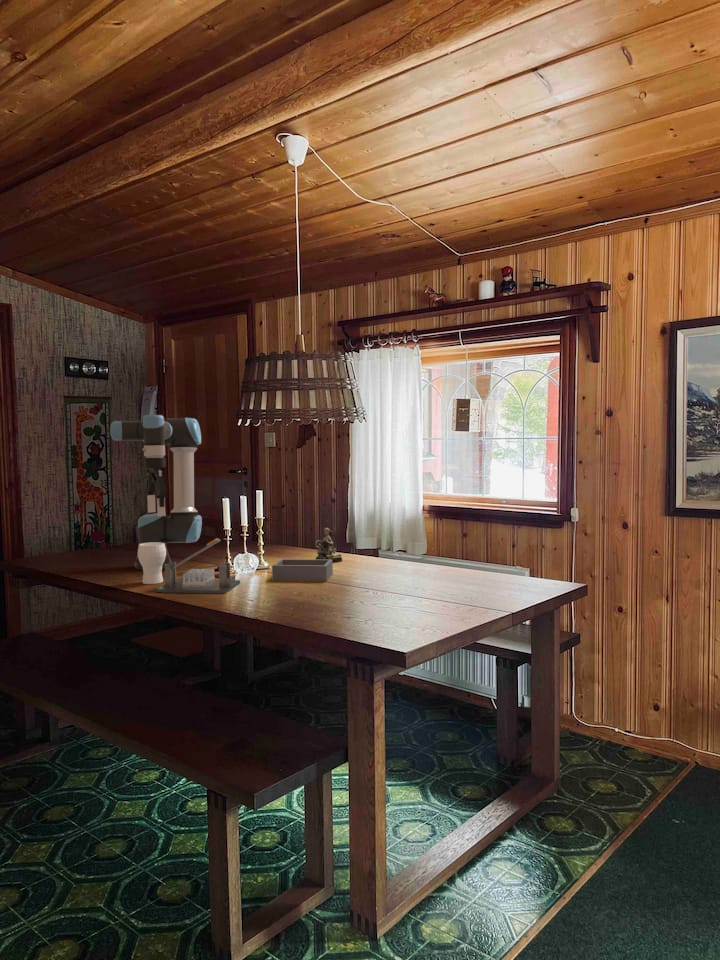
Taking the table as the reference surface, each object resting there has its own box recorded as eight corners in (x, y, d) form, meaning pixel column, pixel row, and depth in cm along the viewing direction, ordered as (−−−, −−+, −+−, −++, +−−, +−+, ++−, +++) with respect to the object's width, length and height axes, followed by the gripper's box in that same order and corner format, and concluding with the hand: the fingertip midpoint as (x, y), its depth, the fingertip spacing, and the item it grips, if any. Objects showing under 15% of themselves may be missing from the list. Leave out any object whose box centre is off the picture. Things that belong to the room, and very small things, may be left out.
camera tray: (281, 574, 298) (280, 559, 297) (332, 575, 295) (332, 559, 295) (272, 582, 284) (272, 565, 283) (326, 582, 281) (326, 566, 280)
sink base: (156, 592, 265) (155, 567, 264) (175, 582, 283) (174, 559, 282) (225, 593, 261) (224, 568, 261) (240, 583, 279) (239, 559, 279)
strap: (168, 572, 272) (165, 568, 272) (171, 571, 275) (168, 567, 275) (218, 542, 268) (216, 538, 268) (221, 541, 271) (218, 537, 271)
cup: (159, 585, 277) (157, 546, 277) (133, 584, 280) (132, 545, 279) (171, 579, 288) (170, 542, 287) (146, 579, 290) (145, 541, 289)
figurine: (311, 562, 323) (310, 529, 322) (322, 558, 333) (321, 526, 332) (335, 564, 318) (335, 530, 317) (345, 560, 328) (345, 527, 327)
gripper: (136, 456, 277) (138, 511, 279) (153, 458, 256) (155, 518, 258) (155, 455, 281) (157, 510, 283) (174, 457, 260) (176, 516, 261)
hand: (156, 514), depth 270 cm, fingers open, 13 cm apart
